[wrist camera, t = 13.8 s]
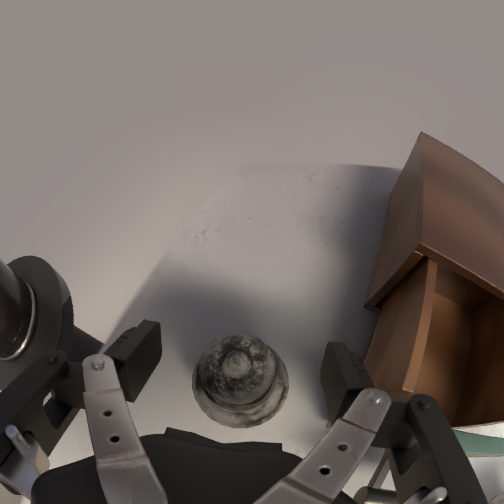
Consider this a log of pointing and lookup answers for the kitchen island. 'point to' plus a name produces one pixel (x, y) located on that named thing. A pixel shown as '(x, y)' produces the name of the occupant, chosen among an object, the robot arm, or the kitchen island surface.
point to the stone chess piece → (240, 381)
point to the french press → (498, 499)
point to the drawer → (440, 357)
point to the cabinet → (441, 221)
